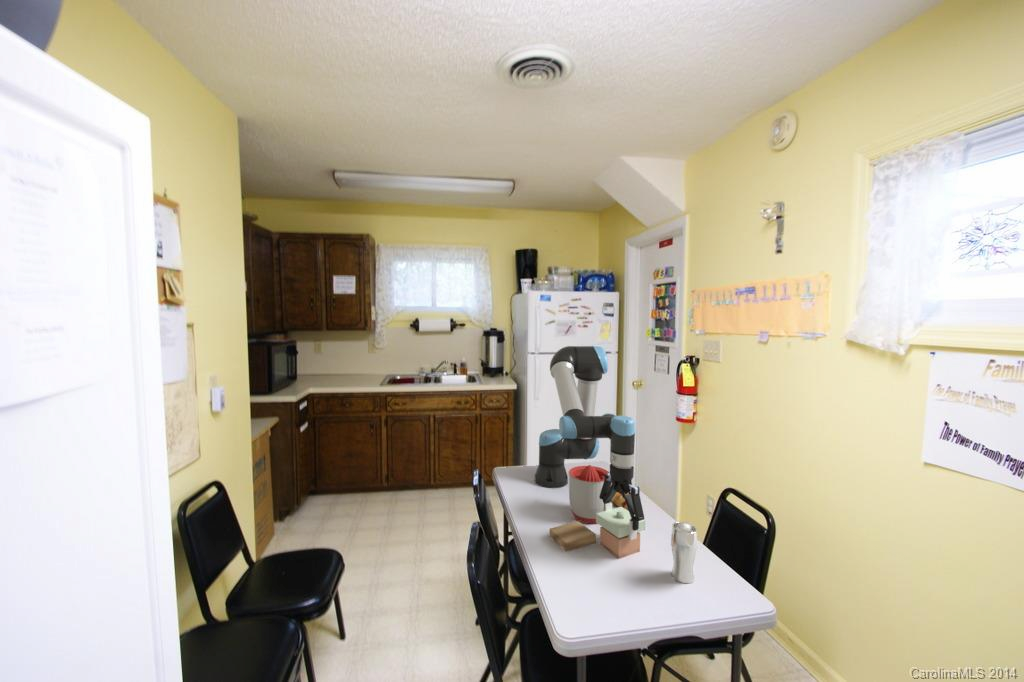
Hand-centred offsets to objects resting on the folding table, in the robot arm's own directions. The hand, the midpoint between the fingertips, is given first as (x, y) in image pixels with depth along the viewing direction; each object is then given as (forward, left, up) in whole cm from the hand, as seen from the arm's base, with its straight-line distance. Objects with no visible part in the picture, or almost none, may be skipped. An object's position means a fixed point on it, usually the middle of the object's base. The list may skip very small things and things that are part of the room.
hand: (620, 530), depth 135 cm
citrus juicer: (-21, +5, -6) cm, 22 cm away
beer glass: (+20, +6, -6) cm, 22 cm away
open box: (0, 0, -6) cm, 6 cm away
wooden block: (-11, -11, -6) cm, 17 cm away
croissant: (-24, +24, -6) cm, 35 cm away
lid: (0, 0, +1) cm, 1 cm away
